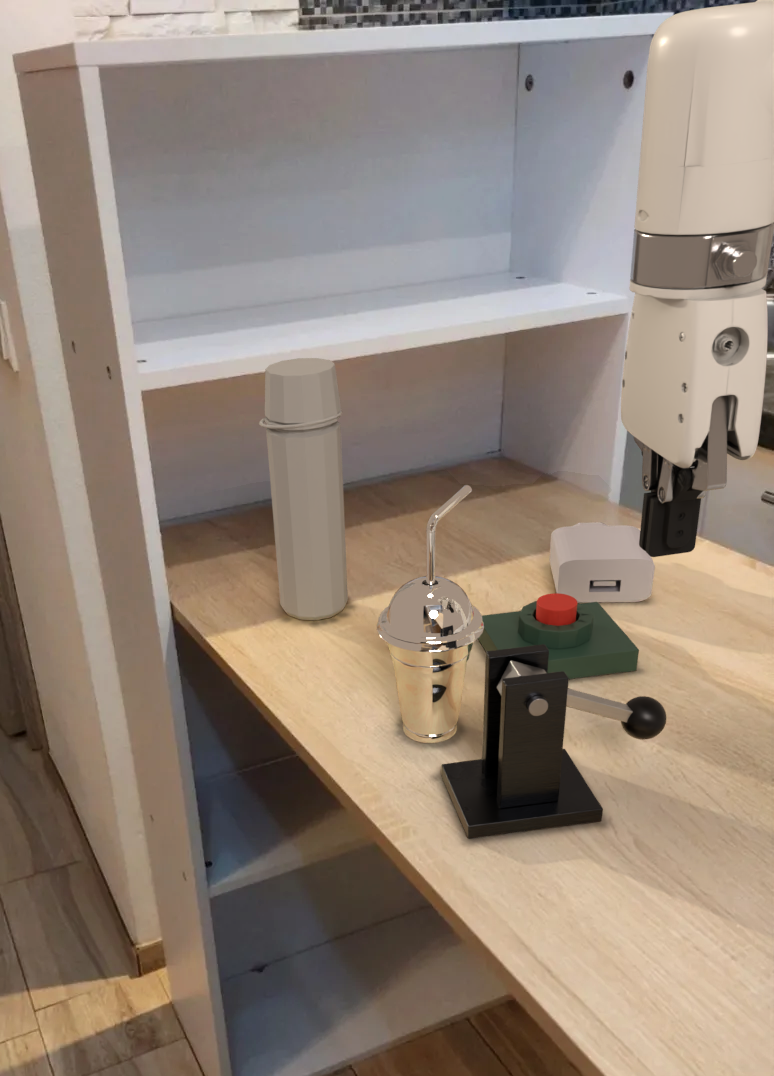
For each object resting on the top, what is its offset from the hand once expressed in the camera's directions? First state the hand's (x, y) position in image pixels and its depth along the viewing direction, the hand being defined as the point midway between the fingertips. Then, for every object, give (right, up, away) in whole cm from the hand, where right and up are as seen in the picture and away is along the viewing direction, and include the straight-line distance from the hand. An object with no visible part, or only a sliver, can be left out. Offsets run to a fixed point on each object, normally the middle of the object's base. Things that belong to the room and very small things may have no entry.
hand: (666, 549), depth 70 cm
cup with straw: (-13, -13, +18) cm, 26 cm away
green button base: (0, -6, +27) cm, 28 cm away
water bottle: (-23, 0, +40) cm, 46 cm away
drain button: (-1, -2, +25) cm, 25 cm away
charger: (+8, +4, +41) cm, 42 cm away
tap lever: (-5, -12, +6) cm, 14 cm away
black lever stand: (-8, -18, +9) cm, 21 cm away
